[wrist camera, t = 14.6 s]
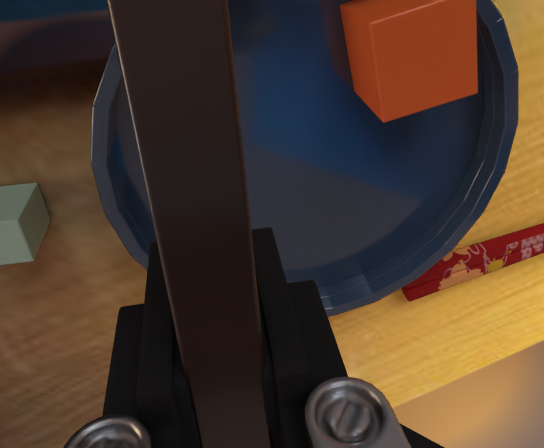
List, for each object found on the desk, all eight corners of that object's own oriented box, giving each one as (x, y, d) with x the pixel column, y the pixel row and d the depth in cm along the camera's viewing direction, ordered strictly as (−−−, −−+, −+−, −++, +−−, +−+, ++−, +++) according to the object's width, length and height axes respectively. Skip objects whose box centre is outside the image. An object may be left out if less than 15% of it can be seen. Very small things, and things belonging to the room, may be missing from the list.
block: (354, 92, 20) (339, 4, 18) (435, 66, 20) (429, -26, 18) (383, 124, 17) (368, 22, 15) (478, 94, 17) (477, -12, 15)
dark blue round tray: (44, -74, 16) (26, -72, 14) (536, -96, 17) (577, -97, 16) (142, 311, 25) (139, 343, 23) (453, 271, 27) (472, 297, 25)
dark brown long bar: (29, -479, 4) (-31, -642, 3) (170, -477, 4) (163, -632, 3) (248, 648, 13) (253, 707, 12) (291, 639, 13) (299, 696, 12)
